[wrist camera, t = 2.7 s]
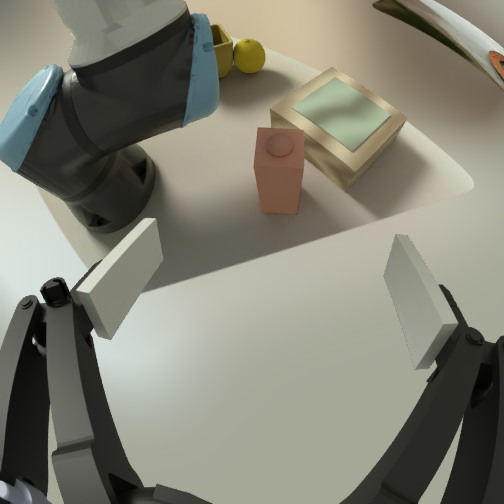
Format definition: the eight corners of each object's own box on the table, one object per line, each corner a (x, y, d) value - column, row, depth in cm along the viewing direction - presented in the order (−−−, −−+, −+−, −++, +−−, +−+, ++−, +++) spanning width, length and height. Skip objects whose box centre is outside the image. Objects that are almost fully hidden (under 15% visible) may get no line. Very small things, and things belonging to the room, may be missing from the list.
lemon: (263, 82, 41) (260, 48, 33) (233, 81, 42) (225, 47, 34) (268, 64, 42) (266, 32, 34) (239, 63, 43) (233, 31, 35)
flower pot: (226, 56, 44) (219, 21, 35) (240, 79, 42) (233, 41, 33) (184, 70, 44) (171, 37, 35) (193, 94, 42) (179, 58, 33)
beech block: (271, 134, 39) (270, 107, 33) (327, 91, 40) (332, 66, 34) (344, 193, 36) (355, 171, 30) (394, 140, 37) (407, 117, 31)
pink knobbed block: (261, 212, 36) (253, 162, 23) (264, 181, 37) (257, 123, 24) (296, 214, 35) (304, 165, 23) (297, 183, 36) (304, 126, 24)
